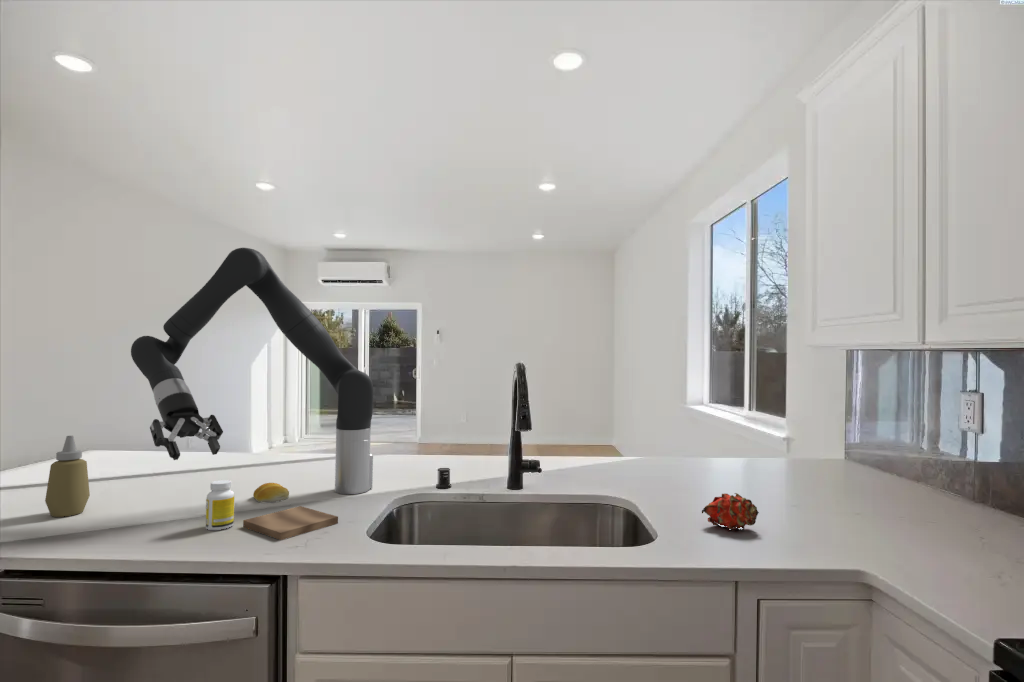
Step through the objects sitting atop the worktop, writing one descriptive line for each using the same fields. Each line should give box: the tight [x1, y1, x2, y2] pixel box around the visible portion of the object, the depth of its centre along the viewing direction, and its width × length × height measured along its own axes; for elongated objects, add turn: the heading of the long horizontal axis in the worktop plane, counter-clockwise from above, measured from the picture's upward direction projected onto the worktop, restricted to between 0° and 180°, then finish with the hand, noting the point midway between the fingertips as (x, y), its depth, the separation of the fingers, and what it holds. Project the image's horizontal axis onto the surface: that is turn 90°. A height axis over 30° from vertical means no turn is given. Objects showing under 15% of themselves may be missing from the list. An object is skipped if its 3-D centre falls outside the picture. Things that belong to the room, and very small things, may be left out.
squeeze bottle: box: [44, 435, 91, 518], centre depth 128 cm, size 8×8×18 cm
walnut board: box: [242, 505, 339, 541], centre depth 121 cm, size 14×14×2 cm
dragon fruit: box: [701, 492, 760, 530], centre depth 123 cm, size 8×8×12 cm
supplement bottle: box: [205, 479, 235, 531], centre depth 120 cm, size 5×5×10 cm
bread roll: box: [252, 482, 290, 503], centre depth 143 cm, size 8×9×4 cm
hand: (197, 455), depth 126 cm, fingers open, 8 cm apart
